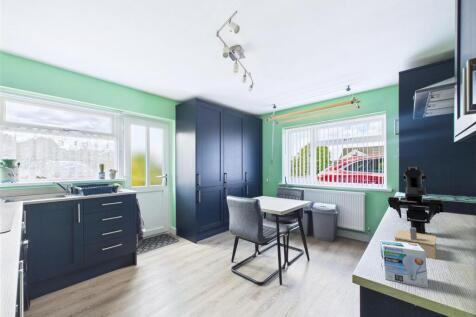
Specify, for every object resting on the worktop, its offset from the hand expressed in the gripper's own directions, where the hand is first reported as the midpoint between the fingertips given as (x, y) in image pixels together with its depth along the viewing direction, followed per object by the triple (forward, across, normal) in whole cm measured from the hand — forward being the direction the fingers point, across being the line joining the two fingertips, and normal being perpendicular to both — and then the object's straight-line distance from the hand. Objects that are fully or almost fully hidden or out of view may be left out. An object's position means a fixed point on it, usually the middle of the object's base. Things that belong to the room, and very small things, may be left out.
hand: (414, 219), depth 85 cm
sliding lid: (+7, 0, +4) cm, 8 cm away
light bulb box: (+32, -1, -14) cm, 35 cm away
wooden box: (+10, 0, +8) cm, 13 cm away
